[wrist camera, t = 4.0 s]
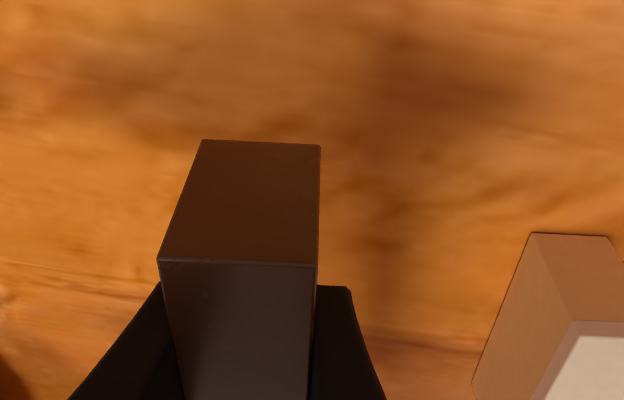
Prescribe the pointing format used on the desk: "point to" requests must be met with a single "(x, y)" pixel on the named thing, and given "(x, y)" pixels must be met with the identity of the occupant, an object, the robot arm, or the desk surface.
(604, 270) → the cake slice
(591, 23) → the desk surface
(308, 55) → the desk surface
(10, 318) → the desk surface
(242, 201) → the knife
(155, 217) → the desk surface
